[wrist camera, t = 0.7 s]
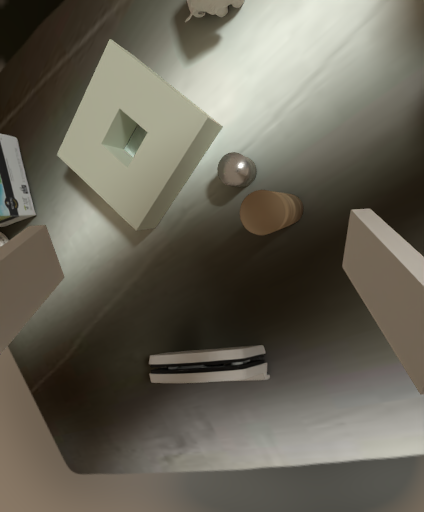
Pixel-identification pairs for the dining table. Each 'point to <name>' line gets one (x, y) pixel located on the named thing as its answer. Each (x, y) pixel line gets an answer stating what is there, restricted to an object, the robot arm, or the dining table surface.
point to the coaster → (3, 239)
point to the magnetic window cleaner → (194, 361)
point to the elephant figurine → (211, 7)
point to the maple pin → (269, 211)
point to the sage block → (120, 130)
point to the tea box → (13, 184)
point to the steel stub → (236, 170)
